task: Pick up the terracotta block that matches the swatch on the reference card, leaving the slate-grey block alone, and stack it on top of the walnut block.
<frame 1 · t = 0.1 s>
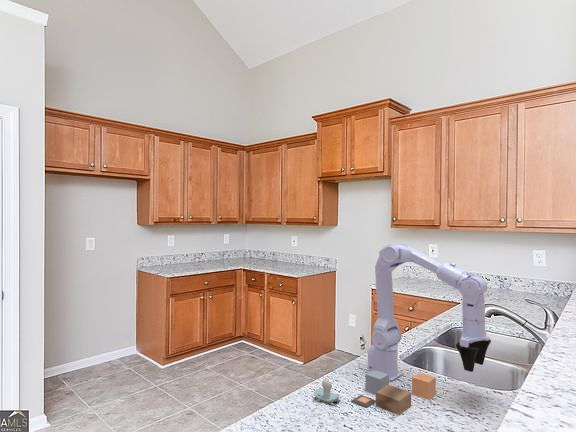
hand: (473, 367, 102), 10 cm above the counter, tool pointing down, fingers open, 7 cm apart
reference card: (363, 401, 101), on the counter
slate block: (377, 391, 109), on the counter
pacifier: (328, 400, 103), on the counter
terracotta block: (423, 394, 107), on the counter
walnut block: (393, 407, 99), on the counter
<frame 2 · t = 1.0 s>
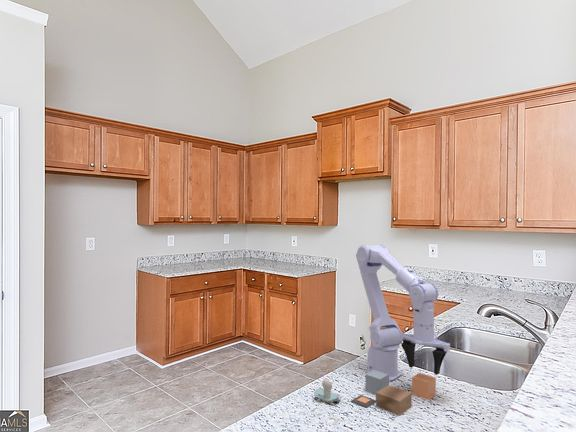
hand: (424, 370, 107), 7 cm above the counter, tool pointing down, fingers open, 7 cm apart
nothing on the counter moved.
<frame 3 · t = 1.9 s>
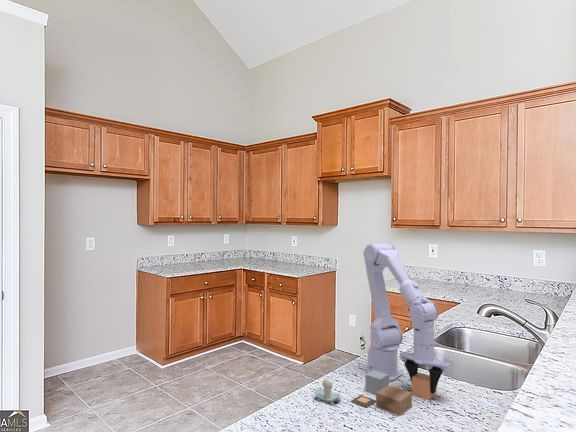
hand: (423, 389, 107), 1 cm above the counter, tool pointing down, fingers closed on terracotta block, 5 cm apart
terracotta block: (423, 394, 107), on the counter, touching gripper
everything else where it was.
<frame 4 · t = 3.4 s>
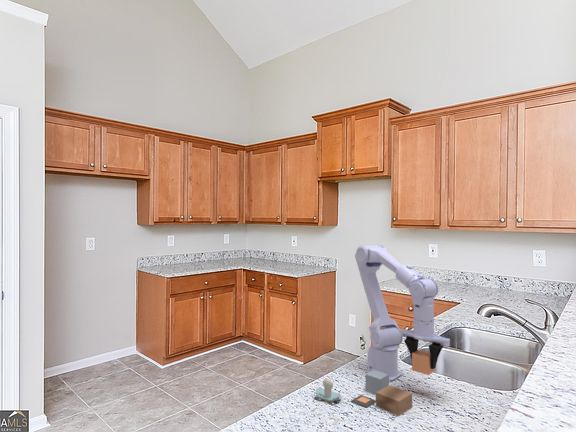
hand: (423, 365, 107), 8 cm above the counter, tool pointing down, fingers closed on terracotta block, 5 cm apart
terracotta block: (423, 370, 107), point 7 cm above the counter, touching gripper
everything else where it was.
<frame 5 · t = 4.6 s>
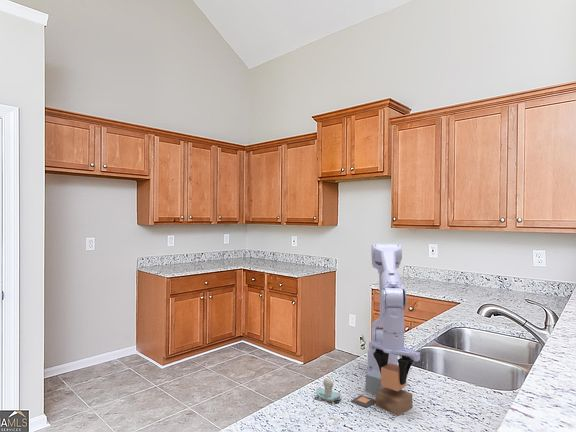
hand: (393, 380, 100), 7 cm above the counter, tool pointing down, fingers closed on terracotta block, 5 cm apart
terracotta block: (393, 385, 100), point 5 cm above the counter, touching gripper
everything else where it was.
when the fingers open (7 cm above the counter, at t = 5.1 s): terracotta block drops 2 cm, point 4 cm above the counter.
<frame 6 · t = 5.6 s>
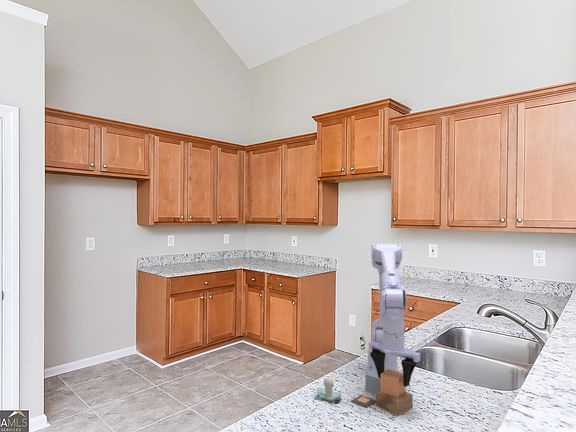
hand: (393, 381, 100), 7 cm above the counter, tool pointing down, fingers open, 7 cm apart
terracotta block: (393, 391, 100), point 4 cm above the counter
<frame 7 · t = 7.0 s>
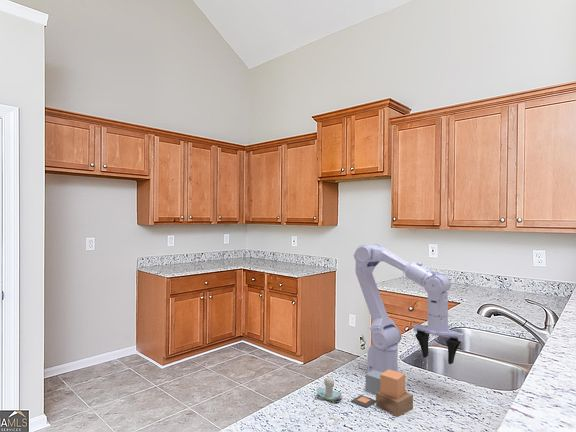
hand: (437, 359, 109), 9 cm above the counter, tool pointing down, fingers open, 7 cm apart
terracotta block: (392, 392, 99), point 4 cm above the counter, touching walnut block
walnut block: (394, 408, 99), on the counter, touching terracotta block
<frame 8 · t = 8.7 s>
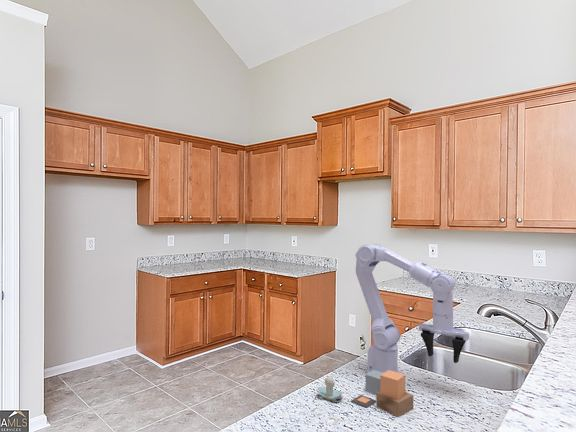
hand: (443, 358, 110), 9 cm above the counter, tool pointing down, fingers open, 7 cm apart
at the end: terracotta block 0.5 cm off-centre on the walnut block, point 4.0 cm above the walnut block's base; terracotta block tilted 0°; walnut block moved 1.1 cm from its start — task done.
